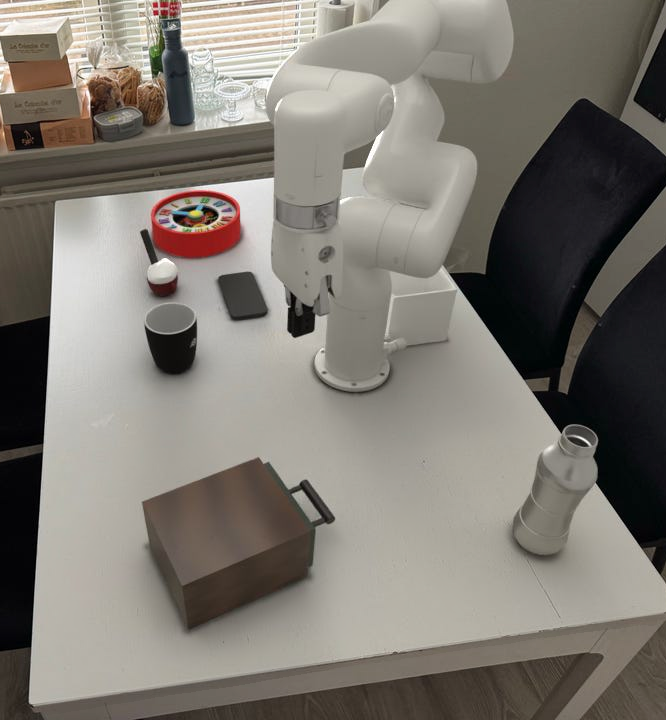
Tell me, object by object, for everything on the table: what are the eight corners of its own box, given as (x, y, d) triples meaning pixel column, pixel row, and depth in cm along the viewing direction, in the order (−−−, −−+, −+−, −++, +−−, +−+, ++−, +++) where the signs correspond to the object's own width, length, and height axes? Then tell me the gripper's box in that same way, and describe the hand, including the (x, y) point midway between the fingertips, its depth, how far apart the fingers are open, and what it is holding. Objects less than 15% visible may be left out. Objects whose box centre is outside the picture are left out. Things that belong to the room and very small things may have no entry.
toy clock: (226, 238, 143) (137, 228, 149) (227, 262, 147) (140, 252, 152) (250, 194, 157) (167, 186, 163) (250, 216, 161) (170, 209, 167)
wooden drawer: (297, 486, 99) (299, 449, 94) (344, 551, 90) (349, 514, 85) (166, 539, 93) (161, 502, 88) (203, 613, 85) (199, 578, 80)
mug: (199, 379, 119) (195, 333, 113) (148, 380, 120) (141, 334, 113) (201, 336, 128) (197, 291, 122) (153, 337, 129) (147, 293, 122)
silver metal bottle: (548, 517, 93) (594, 412, 80) (571, 560, 88) (624, 456, 75) (500, 520, 93) (539, 416, 80) (520, 564, 88) (565, 460, 75)
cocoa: (183, 300, 137) (178, 248, 130) (152, 305, 137) (145, 253, 129) (173, 274, 145) (168, 224, 137) (144, 280, 144) (137, 229, 136)
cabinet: (259, 502, 98) (258, 456, 92) (307, 576, 89) (310, 531, 82) (149, 546, 94) (141, 501, 88) (188, 629, 84) (181, 586, 78)
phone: (252, 270, 142) (269, 311, 131) (252, 273, 143) (269, 315, 131) (216, 275, 142) (231, 317, 130) (217, 278, 142) (231, 321, 131)
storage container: (446, 340, 123) (457, 289, 115) (386, 348, 122) (393, 297, 115) (397, 265, 142) (404, 218, 134) (344, 272, 141) (349, 225, 134)
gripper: (372, 226, 74) (357, 355, 86) (301, 173, 85) (296, 295, 97) (312, 244, 72) (305, 374, 84) (247, 187, 83) (249, 310, 95)
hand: (300, 331), depth 90 cm, fingers closed
